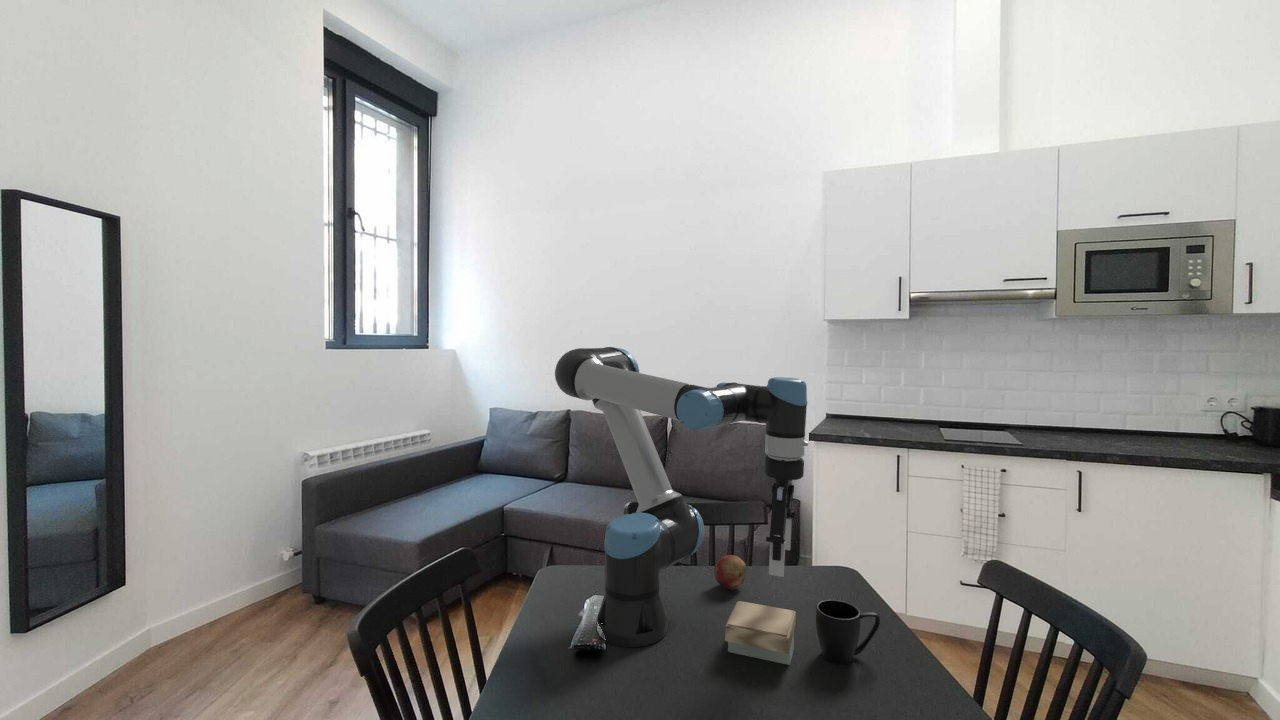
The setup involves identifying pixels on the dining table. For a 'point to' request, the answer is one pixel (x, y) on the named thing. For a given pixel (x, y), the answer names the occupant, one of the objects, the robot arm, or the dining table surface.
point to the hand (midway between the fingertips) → (780, 561)
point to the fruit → (730, 571)
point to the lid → (761, 626)
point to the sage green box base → (762, 652)
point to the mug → (841, 630)
